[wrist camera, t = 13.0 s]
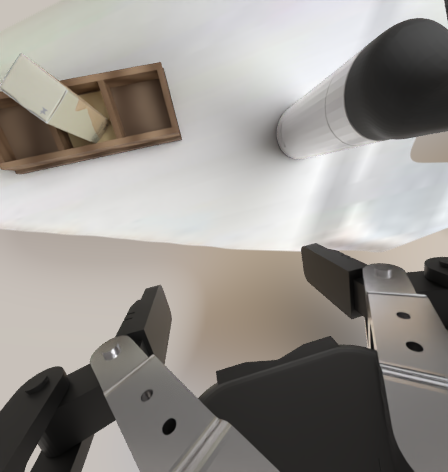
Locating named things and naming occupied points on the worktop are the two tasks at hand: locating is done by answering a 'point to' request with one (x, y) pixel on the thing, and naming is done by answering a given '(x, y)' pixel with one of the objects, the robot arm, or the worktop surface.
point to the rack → (104, 101)
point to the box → (52, 100)
